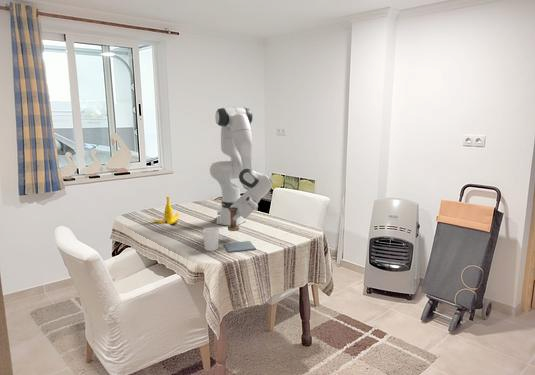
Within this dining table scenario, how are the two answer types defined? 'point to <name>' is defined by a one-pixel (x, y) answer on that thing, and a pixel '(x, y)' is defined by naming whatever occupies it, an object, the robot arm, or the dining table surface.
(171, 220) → the banana peel
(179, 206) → the dining table surface
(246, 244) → the gray book
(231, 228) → the brown post
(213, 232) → the white cup
